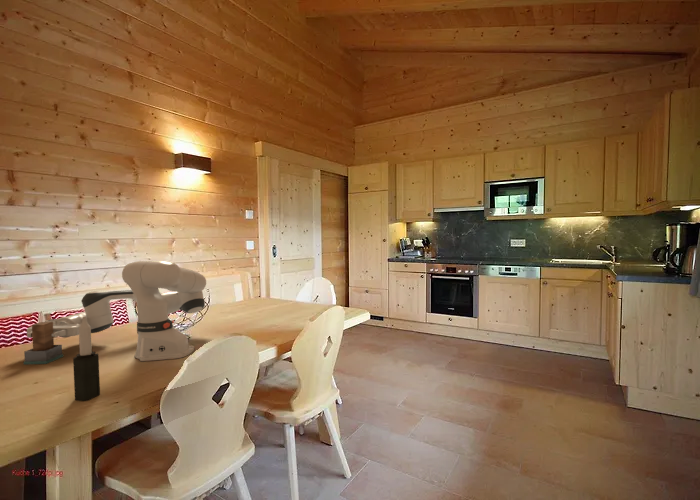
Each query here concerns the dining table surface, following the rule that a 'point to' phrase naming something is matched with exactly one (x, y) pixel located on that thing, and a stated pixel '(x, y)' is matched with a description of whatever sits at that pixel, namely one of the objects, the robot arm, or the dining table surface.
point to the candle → (86, 367)
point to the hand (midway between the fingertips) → (41, 335)
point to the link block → (42, 336)
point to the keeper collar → (43, 355)
